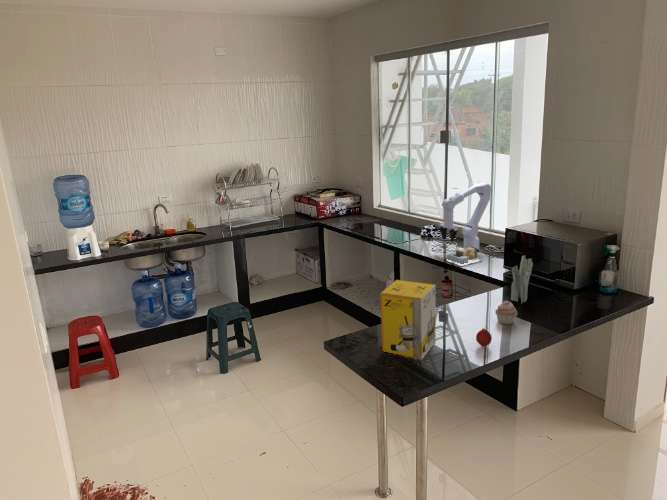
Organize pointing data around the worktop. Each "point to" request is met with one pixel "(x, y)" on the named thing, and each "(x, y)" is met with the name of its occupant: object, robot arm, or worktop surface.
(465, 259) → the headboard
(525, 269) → the pale green stalk cluster
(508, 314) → the cupcake
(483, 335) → the onion
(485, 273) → the worktop surface
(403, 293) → the packaging box
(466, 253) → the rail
